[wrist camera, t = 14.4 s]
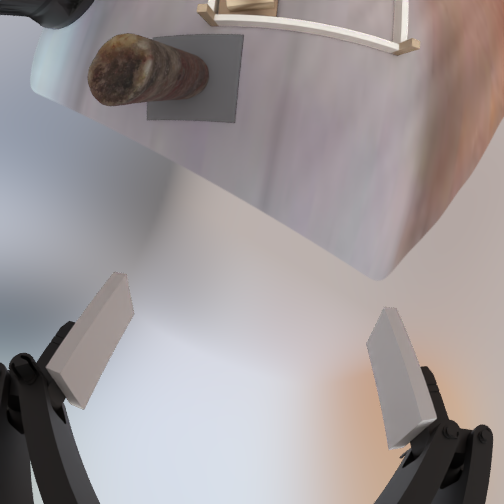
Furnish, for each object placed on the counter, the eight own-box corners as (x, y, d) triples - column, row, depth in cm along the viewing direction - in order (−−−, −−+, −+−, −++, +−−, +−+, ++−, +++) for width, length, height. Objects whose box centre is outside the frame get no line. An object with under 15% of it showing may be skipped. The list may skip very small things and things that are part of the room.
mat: (147, 120, 40) (146, 120, 39) (153, 38, 33) (152, 37, 32) (234, 122, 39) (234, 122, 39) (243, 35, 32) (243, 34, 32)
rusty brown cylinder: (172, 108, 38) (98, 120, 21) (154, 69, 35) (73, 60, 18) (217, 86, 36) (167, 77, 19) (198, 46, 33) (138, 12, 16)
